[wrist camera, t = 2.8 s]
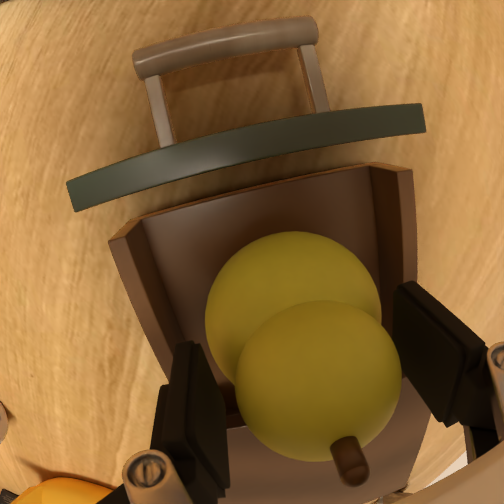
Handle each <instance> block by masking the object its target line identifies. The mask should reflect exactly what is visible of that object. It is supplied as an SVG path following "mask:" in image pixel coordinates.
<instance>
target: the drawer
mask: <svg viewBox="0 0 504 504" xmlns="http://www.w3.org/2000/svg"><path fill="white" fill-rule="evenodd" d="M317 43H318V28H317V25H316V22H315V20H314V19H313V17H311V16H294V17H282V18H273V19H265V20H257V21H250V22H244V23H238V24H232V25H226V26H221V27H216V28H211V29H207V30H202V31H198V32H194V33H190V34H186V35H182V36H178V37H174V38H171V39H167V40H164V41H161V42H157V43H154V44H151V45H148V46H145V47H142V48H139V49H136V50H134V51H133V53H132V59H133V64H134V68H135V71H136V74H137V76H138V78H139V79H140V81H144V82H145V86H146V91H147V95H148V100H149V104H150V108H151V113H152V117H153V121H154V125H155V129H156V133H157V137H158V141H159V145H160V149H157V150H153V151H150V152H147V153H144V154H141V155H138V156H135V157H132V158H129V159H126V160H123V161H120V162H117V163H114V164H111V165H108V166H106V167H103V168H100V169H97V170H95V171H92V172H90V173H87V174H84V175H82V176H79V177H77V178H74V179H72V180H69V181H67V182H66V185H67V189H68V192H69V196H70V199H71V202H72V206H73V209H74V212H79V211H82V210H85V209H88V208H91V207H93V206H96V205H99V204H102V203H105V202H108V201H111V200H114V199H117V198H120V197H123V196H126V195H130V194H133V193H136V192H139V191H142V190H146V189H149V188H152V187H156V186H159V185H162V184H166V183H169V182H173V181H176V180H180V179H184V178H187V177H191V176H195V175H198V174H202V173H206V172H210V171H214V170H218V169H222V168H226V167H230V166H234V165H238V164H243V163H247V162H251V161H256V160H260V159H265V158H269V157H274V156H279V155H284V154H289V153H294V152H299V151H304V150H309V149H315V148H320V147H326V146H332V145H338V144H344V143H350V142H356V141H363V140H370V139H377V138H384V137H392V136H400V135H409V134H418V133H425V132H426V126H425V119H424V114H423V108H422V104H421V103H415V104H397V105H384V106H372V107H362V108H353V109H344V110H336V111H330V108H329V104H328V99H327V95H326V90H325V86H324V82H323V78H322V74H321V70H320V66H319V62H318V58H317V54H316V50H315V47H314V46H316V45H317ZM293 48H298V49H297V53H298V57H299V61H300V65H301V69H302V73H303V77H304V81H305V85H306V89H307V93H308V98H309V102H310V106H311V111H312V114H308V115H302V116H296V117H290V118H285V119H279V120H274V121H269V122H264V123H259V124H254V125H249V126H244V127H240V128H235V129H231V130H227V131H223V132H218V133H214V134H210V135H206V136H203V137H199V138H195V139H191V140H188V141H184V142H180V143H177V141H176V137H175V133H174V129H173V125H172V121H171V117H170V113H169V108H168V104H167V100H166V96H165V91H164V87H163V82H162V78H161V77H160V76H162V75H165V74H168V73H172V72H175V71H179V70H182V69H186V68H190V67H194V66H198V65H202V64H206V63H210V62H215V61H219V60H224V59H229V58H234V57H239V56H245V55H250V54H256V53H263V52H269V51H276V50H284V49H293ZM291 231H299V232H309V233H313V234H318V235H321V236H324V237H327V238H329V239H332V240H334V241H335V242H337V243H339V244H341V245H342V246H344V247H345V248H347V249H348V250H349V251H350V252H352V253H353V254H354V255H355V256H356V257H357V258H358V259H359V260H360V261H361V263H362V264H363V265H364V266H365V268H366V269H367V271H368V272H369V274H370V276H371V278H372V280H373V282H374V284H375V286H376V288H377V292H378V296H379V300H380V304H381V326H382V327H383V328H384V329H385V330H386V331H387V333H388V334H389V336H390V338H391V339H392V324H393V292H394V291H395V290H396V288H397V286H398V285H399V284H402V283H405V282H408V281H411V280H413V281H415V282H416V283H417V223H416V205H415V192H414V181H413V171H412V169H408V168H404V167H399V166H394V165H389V164H384V163H379V162H371V163H366V164H360V165H355V166H349V167H344V168H338V169H333V170H328V171H323V172H318V173H313V174H308V175H304V176H299V177H294V178H289V179H285V180H280V181H276V182H271V183H267V184H263V185H258V186H254V187H250V188H246V189H241V190H237V191H233V192H229V193H225V194H221V195H217V196H213V197H209V198H205V199H202V200H198V201H194V202H190V203H186V204H183V205H179V206H175V207H172V208H168V209H165V210H161V211H158V212H154V213H151V214H147V215H144V216H140V217H137V218H134V219H130V220H129V221H128V222H127V223H126V224H125V225H124V226H123V227H122V228H121V229H120V230H119V231H118V232H117V233H116V234H115V235H114V236H113V237H112V238H111V239H110V240H109V241H108V244H109V247H110V250H111V253H112V255H113V258H114V261H115V263H116V266H117V269H118V271H119V274H120V276H121V279H122V281H123V284H124V286H125V289H126V291H127V294H128V296H129V298H130V301H131V303H132V306H133V308H134V310H135V312H136V315H137V317H138V319H139V322H140V324H141V326H142V328H143V330H144V333H145V335H146V337H147V339H148V341H149V343H150V345H151V347H152V349H153V352H154V354H155V356H156V358H157V360H158V362H159V364H160V366H161V368H162V370H163V372H164V373H165V375H166V377H167V379H168V381H169V380H170V374H171V367H172V361H173V355H174V349H175V344H176V343H180V342H184V341H189V340H193V341H194V342H195V344H197V343H200V344H201V346H202V348H203V351H204V353H205V356H206V358H207V361H208V363H209V365H210V368H211V370H212V373H213V375H214V377H215V380H216V382H217V385H218V387H219V389H220V392H221V394H222V396H223V399H224V402H225V410H226V416H231V415H236V414H241V413H240V411H239V408H238V404H237V400H236V394H235V385H234V384H233V383H232V382H231V381H230V380H229V379H228V378H227V377H226V376H225V375H224V374H223V372H222V371H221V370H220V368H219V367H218V365H217V363H216V362H215V360H214V358H213V356H212V354H211V351H210V348H209V344H208V341H207V337H206V329H205V310H206V305H207V300H208V295H209V292H210V290H211V287H212V285H213V283H214V281H215V279H216V277H217V275H218V273H219V272H220V270H221V269H222V268H223V266H224V265H225V264H226V262H227V261H228V260H229V259H230V258H231V257H232V256H233V255H234V254H236V253H237V252H238V251H239V250H240V249H242V248H243V247H245V246H247V245H248V244H250V243H251V242H253V241H256V240H258V239H260V238H262V237H265V236H268V235H271V234H276V233H281V232H291Z"/></svg>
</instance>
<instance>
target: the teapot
mask: <svg viewBox="0 0 504 504" xmlns="http://www.w3.org/2000/svg"><path fill="white" fill-rule="evenodd" d="M112 491H113V490H111V489H108V488H105V487H102V486H100V485H96V484H93V483H90V482H86V481H82V480H78V479H73V478H66V477H57V478H53V479H50V480H47V481H44V482H42V483H40V484H38V485H37V486H34V487H29V488H28V489H27V490H25V491H24V492H23V493H22V494H21V495H20V496H18V497H17V498H16V499H15V500H14V501H13V502H11V503H10V504H96V503H97V502H99V501H100V500H101V499H103V498H104V497H105V496H107V495H108V494H110V493H111V492H112Z"/></svg>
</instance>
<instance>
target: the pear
mask: <svg viewBox="0 0 504 504" xmlns="http://www.w3.org/2000/svg"><path fill="white" fill-rule="evenodd" d="M205 329H206V337H207V341H208V344H209V348H210V351H211V354H212V356H213V358H214V360H215V362H216V363H217V365H218V367H219V368H220V370H221V371H222V372H223V374H224V375H225V376H226V377H227V378H228V379H229V380H230V381H231V382H232V383H233V384H234V385H235V394H236V400H237V404H238V408H239V411H240V413H241V416H242V418H243V420H244V422H245V423H246V425H247V426H248V428H249V430H250V431H251V432H252V433H253V434H254V436H255V437H256V438H257V439H258V440H259V441H260V442H262V443H263V444H264V445H265V446H267V447H268V448H270V449H271V450H273V451H275V452H276V453H279V454H281V455H283V456H285V457H288V458H292V459H296V460H300V461H307V462H321V461H330V460H334V463H335V466H336V469H337V472H338V475H339V478H340V480H341V482H342V483H343V485H345V486H346V487H349V488H358V487H361V486H363V485H364V484H365V483H367V481H368V480H369V478H370V475H371V469H370V467H369V464H368V462H367V460H366V457H365V455H364V453H363V450H362V448H363V447H364V446H366V445H367V444H368V443H370V442H371V441H372V440H373V439H374V438H375V437H376V436H377V435H378V434H379V433H380V432H381V431H382V430H383V429H384V427H385V426H386V425H387V423H388V421H389V420H390V418H391V417H392V415H393V413H394V410H395V408H396V405H397V403H398V400H399V396H400V391H401V384H402V370H401V364H400V359H399V355H398V352H397V350H396V347H395V345H394V342H393V341H392V339H391V338H390V336H389V334H388V333H387V331H386V330H385V329H384V328H383V327H382V326H381V304H380V300H379V296H378V292H377V288H376V286H375V284H374V282H373V280H372V278H371V276H370V274H369V272H368V271H367V269H366V268H365V266H364V265H363V264H362V263H361V261H360V260H359V259H358V258H357V257H356V256H355V255H354V254H353V253H352V252H350V251H349V250H348V249H347V248H345V247H344V246H342V245H341V244H339V243H337V242H335V241H334V240H332V239H329V238H327V237H324V236H321V235H318V234H313V233H309V232H299V231H291V232H281V233H276V234H271V235H268V236H265V237H262V238H260V239H258V240H256V241H253V242H251V243H250V244H248V245H247V246H245V247H243V248H242V249H240V250H239V251H238V252H237V253H236V254H234V255H233V256H232V257H231V258H230V259H229V260H228V261H227V262H226V264H225V265H224V266H223V268H222V269H221V270H220V272H219V273H218V275H217V277H216V279H215V281H214V283H213V285H212V287H211V290H210V292H209V295H208V300H207V305H206V310H205Z"/></svg>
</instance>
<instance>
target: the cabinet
mask: <svg viewBox="0 0 504 504" xmlns="http://www.w3.org/2000/svg"><path fill="white" fill-rule="evenodd" d="M430 416H431V411H430V410H429V408H428V407H427V405H426V404H425V402H424V401H423V399H422V398H421V397H420V395H419V394H418V392H417V391H416V389H415V388H414V387H413V385H412V384H411V382H410V381H409V379H408V378H407V377H406V375H405V374H404V372H403V371H402V384H401V391H400V396H399V400H398V403H397V405H396V408H395V410H394V413H393V415H392V417H391V418H390V420H389V421H388V423H387V425H386V426H385V427H384V429H383V430H382V431H381V432H380V433H379V434H378V435H377V436H376V437H375V438H374V439H373V440H372V441H371V442H370V443H368V444H367V445H366V446H364V447H363V448H362V450H363V453H364V455H365V457H366V460H367V462H368V464H369V467H370V469H371V475H370V478H369V480H368V481H367V483H365V484H364V485H363V486H361V487H358V488H349V487H346V486H345V485H343V483H342V482H341V480H340V478H339V475H338V472H337V469H336V466H335V463H334V460H330V461H321V462H307V461H300V460H296V459H292V458H288V457H285V456H283V455H281V454H279V453H276V452H275V451H273V450H271V449H270V448H268V447H267V446H265V445H264V444H263V443H262V442H260V441H259V440H258V439H257V438H256V437H255V436H254V434H253V433H252V432H251V431H250V430H249V428H248V426H247V425H246V423H245V422H244V420H243V418H242V416H241V414H236V415H231V416H226V427H227V442H228V457H229V470H230V484H231V486H230V488H229V489H225V495H226V498H218V504H363V503H366V502H369V501H372V500H374V499H377V498H380V497H382V496H385V495H387V494H390V493H392V492H394V491H397V490H399V489H401V488H404V487H405V485H406V483H407V481H408V478H409V476H410V473H411V471H412V468H413V466H414V463H415V461H416V458H417V455H418V452H419V450H420V447H421V444H422V441H423V438H424V435H425V432H426V429H427V426H428V422H429V419H430Z"/></svg>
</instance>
